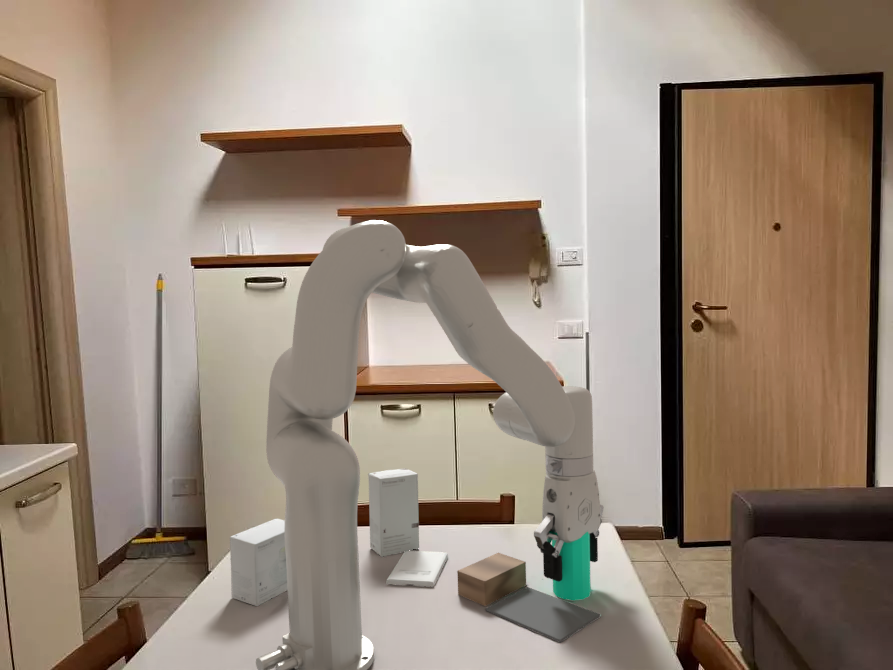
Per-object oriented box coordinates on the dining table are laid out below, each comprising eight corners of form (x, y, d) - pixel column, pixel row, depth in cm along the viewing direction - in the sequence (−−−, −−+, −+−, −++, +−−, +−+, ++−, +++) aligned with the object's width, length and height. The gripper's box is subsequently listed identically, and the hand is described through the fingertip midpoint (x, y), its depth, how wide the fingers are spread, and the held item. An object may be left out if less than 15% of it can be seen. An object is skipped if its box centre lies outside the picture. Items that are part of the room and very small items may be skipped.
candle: (545, 588, 112) (544, 517, 111) (576, 581, 115) (574, 511, 114) (567, 603, 107) (565, 528, 106) (598, 595, 109) (597, 521, 108)
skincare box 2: (381, 558, 127) (377, 479, 126) (369, 547, 132) (365, 472, 131) (421, 548, 131) (418, 472, 130) (408, 539, 136) (405, 465, 135)
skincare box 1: (258, 607, 109) (254, 543, 108) (230, 598, 112) (227, 536, 112) (304, 582, 118) (302, 522, 117) (278, 575, 121) (275, 517, 120)
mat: (560, 642, 95) (560, 639, 95) (485, 610, 105) (485, 608, 105) (600, 616, 102) (600, 614, 102) (527, 589, 112) (527, 586, 112)
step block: (485, 606, 107) (484, 581, 106) (458, 594, 111) (457, 570, 111) (526, 585, 114) (525, 561, 113) (499, 575, 118) (498, 552, 118)
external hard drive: (448, 560, 126) (433, 590, 114) (405, 558, 128) (386, 587, 116) (447, 552, 126) (433, 580, 114) (404, 550, 128) (386, 578, 116)
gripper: (555, 480, 100) (557, 594, 102) (619, 457, 113) (620, 559, 114) (516, 472, 106) (518, 579, 107) (581, 450, 118) (582, 547, 119)
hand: (571, 568), depth 110 cm, fingers open, 9 cm apart
